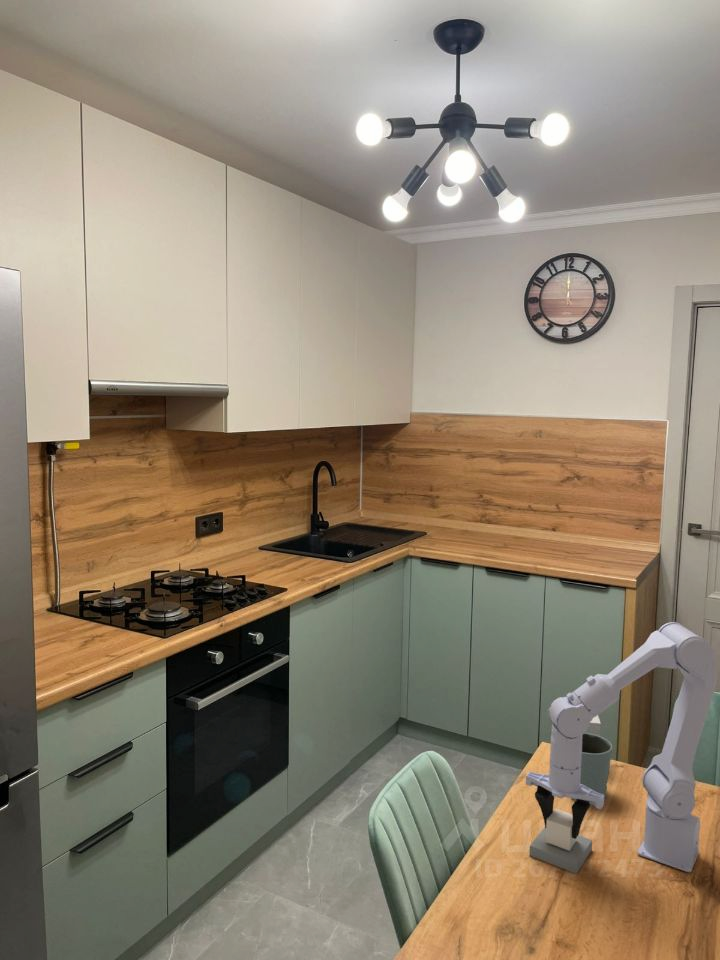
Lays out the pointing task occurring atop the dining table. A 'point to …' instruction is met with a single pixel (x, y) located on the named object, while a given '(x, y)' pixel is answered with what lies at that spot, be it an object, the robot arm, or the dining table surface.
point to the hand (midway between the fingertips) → (561, 830)
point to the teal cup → (595, 762)
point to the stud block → (561, 852)
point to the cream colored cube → (560, 829)
